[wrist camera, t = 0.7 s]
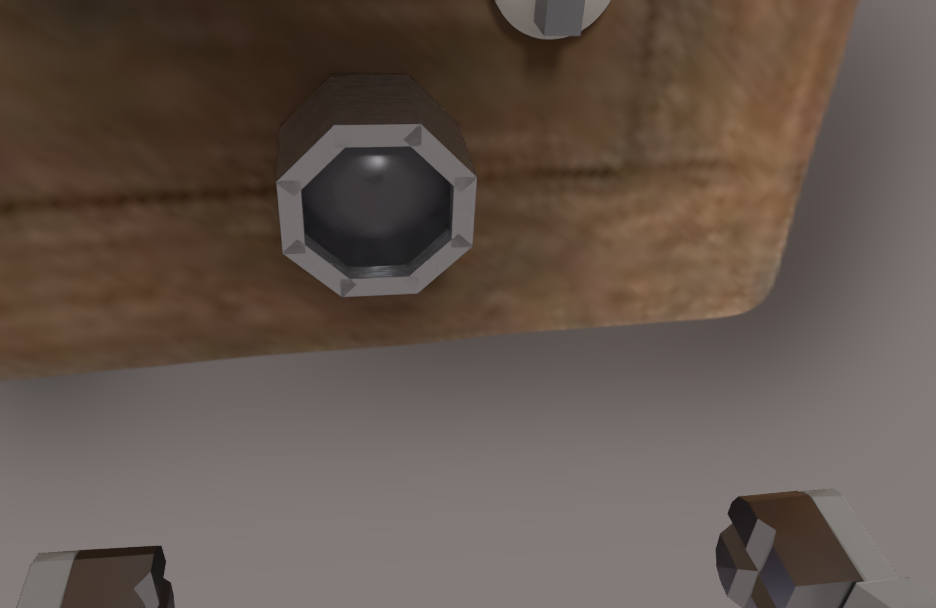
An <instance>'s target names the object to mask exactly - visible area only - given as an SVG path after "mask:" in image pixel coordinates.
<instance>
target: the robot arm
mask: <svg viewBox="0 0 936 608" xmlns="http://www.w3.org/2000/svg"><path fill="white" fill-rule="evenodd" d="M728 515H729V517H730V519H731V521H732V524H731V525H730V526H729V527H728V528H726V529H725V530H724V531H723V532H722V533H720V536H719V539H718V543H717V546H716V567H717V570H718V574H719V578H720V581H721V584H722V586H723V588H724V590H725V592H726V595H727V597H729V598H730V599H731V600H733V601H734V602H735V603H737V604H738V605H739V606H741V607H742V608H936V595H935V594H933V593H932V592H930V591H929V590H927V589H925V588H924V587H923V586H921V585H920V584H918V583H916V582H915V581H913V580H912V579H910V578H909V577H907V578H899V577H898V576H897V574H896V573H895V571H894V570H893V568H892V567H891V565H890V564H889V562H888V561H887V560H886V558H885V557H884V555H883V554H882V552H881V551H880V549H879V548H878V546H877V545H876V544H875V542H874V541H873V539H872V538H871V536H870V535H869V533H868V532H867V530H866V529H865V528H864V526H863V525H862V523H861V522H860V520H859V519H858V517H857V516H856V514H855V513H854V512H853V510H852V509H851V507H850V506H849V504H848V503H847V502H846V500H845V499H844V497H843V496H842V494H841V493H839V492H838V491H836V490H835V489H821V490H810V491H801V492H799V491H790V492H780V493H769V494H760V495H749V496H739V497H737V498H736V499H735V500H734V501H733V502H732V503H731V506H730V508H729V511H728ZM165 565H166V560H165V556H164V553H163V549H162V546H145V547H128V548H111V549H92V550H77V551H63V552H49V553H39V554H38V555H37V556H36V558H35V559H34V561H33V562H32V563H31V565H30V567H29V570H28V573H27V576H26V579H25V583H24V585H23V589H22V591H21V594H20V598H19V601H18V604H17V607H16V608H175V606H174V595H173V590H172V585H171V583H170V582H169V581H167V580H166V579H164V578H163V577H164V571H165Z"/></svg>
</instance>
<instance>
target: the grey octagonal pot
mask: <svg viewBox="0 0 936 608" xmlns="http://www.w3.org/2000/svg"><path fill="white" fill-rule="evenodd" d="M276 184H277V195H278V206H279V217H280V228H281V239H282V253H283V254H284V255H285V256H287V257H288V258H290V259H291V260H292V261H294V262H295V263H296V264H298V265H299V266H300V267H302V268H303V269H304V270H306V271H307V272H309V273H310V274H311V275H313V276H314V277H315V278H317V279H318V280H319V281H321V282H322V283H323V284H325V285H326V286H328V287H329V288H330V289H332V290H333V291H334V292H336V293H337V294H338V295H340V296H341V297H352V296H374V295H396V294H418V293H419V292H420V291H421V290H422V289H423V288H424V287H426V286H427V285H428V284H429V283H430V282H431V281H433V280H434V279H435V278H436V277H437V276H438V275H440V274H441V273H442V272H443V271H444V270H445V269H447V268H448V267H449V266H450V265H451V264H453V263H454V262H455V261H456V260H457V259H458V258H460V257H461V256H462V255H463V254H464V253H465V252H467V251H468V250H469V249H470V248H471V247H472V246H473V245H472V244H473V229H474V214H475V199H476V184H477V175H476V172H475V169H474V167H473V164H472V161H471V158H470V155H469V153H468V150H467V147H466V144H465V141H464V138H463V136H462V133H461V130H460V127H459V124H458V123H457V122H456V121H455V120H454V119H453V118H452V117H451V116H450V115H449V114H448V113H447V112H446V111H445V110H444V109H443V108H441V107H440V106H439V105H438V104H437V103H436V102H435V101H434V100H433V99H432V98H431V97H430V96H429V95H428V94H427V93H426V92H425V91H424V90H423V89H422V88H421V87H420V86H419V85H418V84H417V83H416V82H415V81H414V80H413V79H412V78H411V77H410V76H409V75H408V74H330V76H329V77H328V78H327V79H326V80H325V81H324V82H323V83H322V84H321V85H320V86H319V87H318V88H317V89H316V90H315V91H314V92H313V93H312V94H311V95H310V96H309V97H308V98H307V99H306V100H305V101H304V102H303V103H302V104H301V105H300V106H299V107H298V108H297V109H296V110H295V111H294V112H293V113H292V114H291V115H290V116H289V117H288V118H287V119H286V120H285V121H284V122H283V124H282V125H280V127H279V142H278V157H277V171H276Z"/></svg>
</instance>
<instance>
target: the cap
mask: <svg viewBox="0 0 936 608" xmlns="http://www.w3.org/2000/svg"><path fill="white" fill-rule="evenodd" d="M495 2H496V4H497V6H498V8H499V9H500V11H501V13H502V14H503V16H504V17H505V18H506V19H507V21H508V22H509V23H510V24H511V25H512V26H513V27H515V28H516V29H518V30H519V31H520V32H522V33H524V34H526V35H529V36H531V37H535V38H539V39H560V38H565V37H568V36H581V31H582V30H583V29H585V28H586V27H588V26H589V25H590V24H592V23H593V22H594V21H595V20H596V19H597V18H598V17H599V16H600V15H601V14H602V12H603V11H604V10H605V9H606V7H607V5H608V4H609V2H610V0H495Z"/></svg>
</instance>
